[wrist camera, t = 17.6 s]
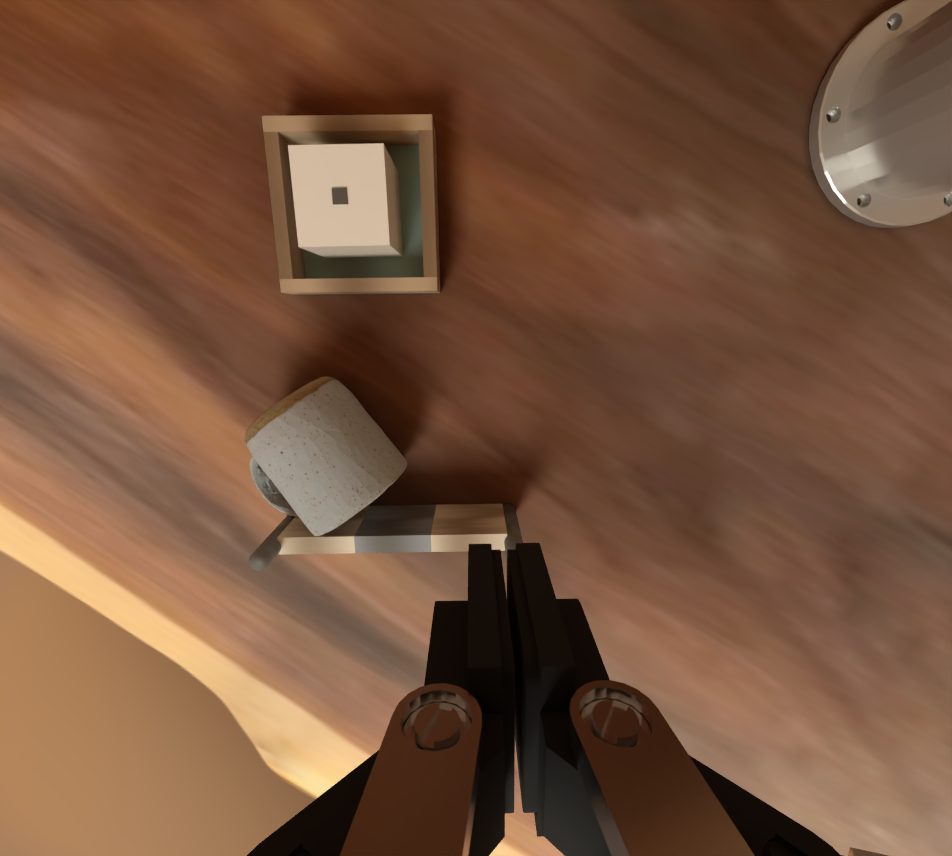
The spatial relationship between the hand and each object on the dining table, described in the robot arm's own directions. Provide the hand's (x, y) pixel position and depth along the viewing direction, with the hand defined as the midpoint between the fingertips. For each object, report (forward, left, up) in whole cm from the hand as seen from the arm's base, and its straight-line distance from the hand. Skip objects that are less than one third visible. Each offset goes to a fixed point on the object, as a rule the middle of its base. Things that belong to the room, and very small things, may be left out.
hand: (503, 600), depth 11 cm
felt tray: (+7, -13, -23) cm, 27 cm away
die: (+8, -13, -22) cm, 27 cm away
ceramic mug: (+11, +3, -23) cm, 26 cm away
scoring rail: (+6, +8, -23) cm, 25 cm away
